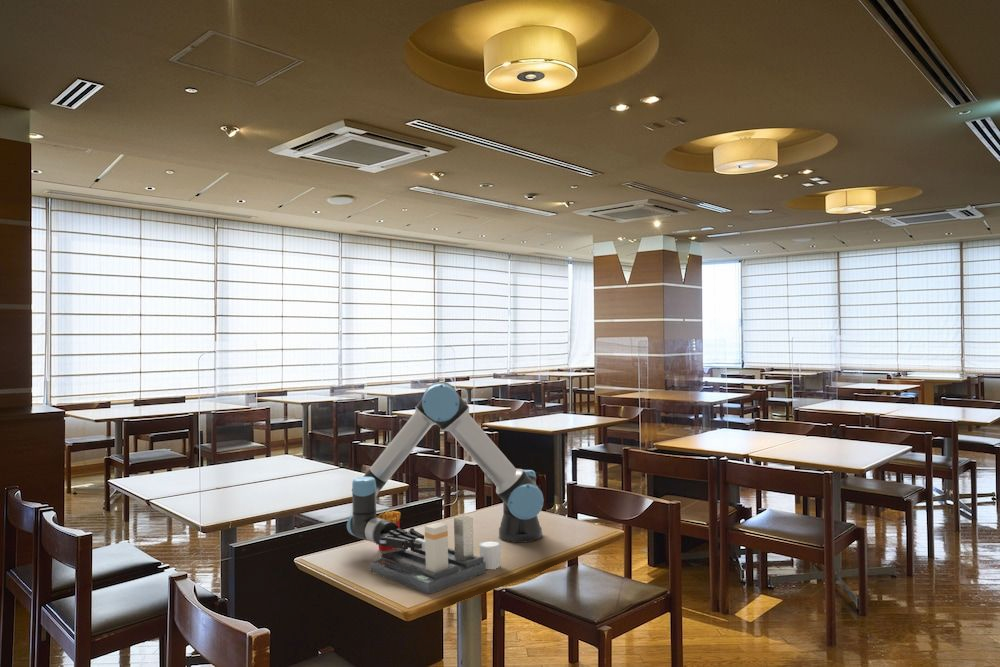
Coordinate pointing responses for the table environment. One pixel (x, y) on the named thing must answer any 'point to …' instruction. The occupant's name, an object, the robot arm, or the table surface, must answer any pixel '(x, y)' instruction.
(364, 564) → the table surface
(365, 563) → the table surface
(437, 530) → the handle
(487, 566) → the white short cylinder
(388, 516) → the french fries
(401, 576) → the breaker panel
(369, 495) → the robot arm
